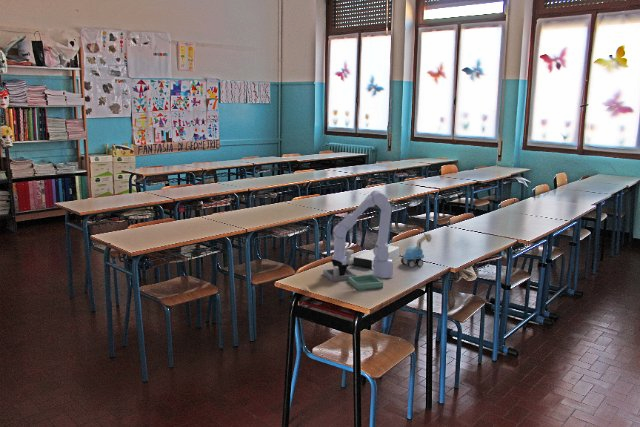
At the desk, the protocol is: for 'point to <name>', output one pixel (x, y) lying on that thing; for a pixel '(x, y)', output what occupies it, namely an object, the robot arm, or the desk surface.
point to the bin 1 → (330, 276)
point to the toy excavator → (415, 253)
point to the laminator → (368, 257)
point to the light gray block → (336, 271)
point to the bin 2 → (365, 282)
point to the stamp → (349, 256)
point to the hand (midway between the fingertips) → (339, 274)
